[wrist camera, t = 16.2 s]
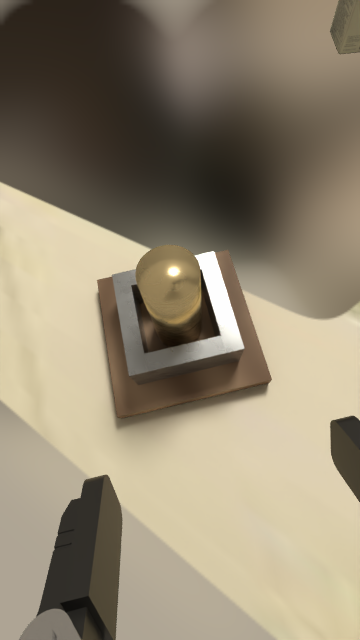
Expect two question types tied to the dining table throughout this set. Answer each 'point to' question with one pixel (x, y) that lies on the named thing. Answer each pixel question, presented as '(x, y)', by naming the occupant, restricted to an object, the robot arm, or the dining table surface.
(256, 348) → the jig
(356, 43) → the skincare box
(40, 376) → the dining table surface
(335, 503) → the dining table surface
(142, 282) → the gold dome cylinder
